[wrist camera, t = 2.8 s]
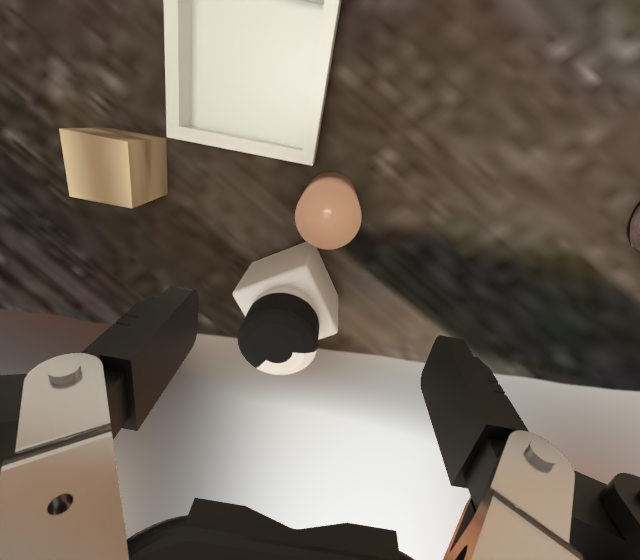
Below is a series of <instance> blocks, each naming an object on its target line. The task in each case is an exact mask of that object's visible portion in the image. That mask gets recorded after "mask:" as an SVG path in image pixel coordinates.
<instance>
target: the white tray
mask: <svg viewBox="0 0 640 560" xmlns="http://www.w3.org/2000/svg"><path fill="white" fill-rule="evenodd" d="M341 1H342V0H164V40H165V85H166V129H167V137H169V138H174V139H179V140H184V141H189V142H194V143H199V144H204V145H209V146H214V147H219V148H224V149H229V150H235V151H240V152H245V153H250V154H255V155H260V156H265V157H270V158H275V159H280V160H285V161H290V162H295V163H301V164H306V165H311V166H313V164H314V163H315V159H316V152H317V146H318V140H319V134H320V128H321V122H322V116H323V110H324V104H325V98H326V92H327V86H328V80H329V74H330V67H331V61H332V55H333V49H334V43H335V37H336V31H337V25H338V19H339V13H340V7H341Z"/></svg>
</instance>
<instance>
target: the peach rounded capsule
mask: <svg viewBox="0 0 640 560" xmlns="http://www.w3.org/2000/svg"><path fill="white" fill-rule="evenodd" d="M295 222H296V226H297V229H298V231H299V233H300V235H301V236H302V237H303V239H304V240H305V241H307V242H308V243H309V244H311V245H313V246H314V247H317V248H320V249H336V248H340V247H342V246H344V245H346V244H347V243H349V242H350V241H351V240H352V239H353V238H354V237H355V235H356V234H357V232H358V230H359V228H360V225H361V209H360V205H359V201H358V197H357V193H356V190H355V187H354V185H353V183H352V182H351V181H350V180H349V179H348V178H347V177H346V176H344V175H343V174H340V173H337V172H324V173H321V174H318V175H317V176H315V177H314V178H313V179H312V180H311V181H310V182H309V183H308V185H307V187H306V189H305V191H304V193H303V194H302V196H301V198H300V200H299V202H298V204H297V207H296V211H295Z"/></svg>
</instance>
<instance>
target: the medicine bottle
mask: <svg viewBox="0 0 640 560" xmlns="http://www.w3.org/2000/svg"><path fill="white" fill-rule="evenodd" d="M233 297H234V299H235V300H236V302H237V304H238V305H239V307H240V309H241V310H242V312H243V314H244V315H245V319H244V321H243V323H242V325H241V327H240V329H239V333H238V344H239V348H240V350H241V353H242V354H243V356H244V357H245V358H246V360H247V361H248V362H249V363H250V364H251V365H253V366H254V367H255V368H257V369H259V370H261V371H263V372H265V373H269V374H274V375H287V374H292V373H296V372H298V371H300V370H302V369H304V368H305V367H307V366H308V365H309V364H310V363H311V362H312V360H313V359H314V357H315V355H316V352H317V347H318V340H319V339H322V338H325V337H328V336H332V335H335V334H337V332H338V294H337V292H336V290H335V288H334V285H333V283H332V281H331V279H330V276H329V274H328V272H327V270H326V267H325V265H324V263H323V261H322V258H321V256H320V254H319V252H318V249H317V247H314V246H313V245H311V244H309V243H308V242H307V241H306V242H303V243H301V244H298V245H296V246H293V247H291V248H288V249H285V250H283V251H280V252H278V253H275V254H272V255H270V256H267V257H265V258H262V259H260V260H257V261H254V262H252V263H251V265H250V266H249V268H248V269H247V271H246V273H245V274H244V276H243V277H242V279H241V280H240V282H239V284H238V285H237V287H236V288H235V290H234V291H233Z"/></svg>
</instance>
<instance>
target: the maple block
mask: <svg viewBox="0 0 640 560" xmlns="http://www.w3.org/2000/svg"><path fill="white" fill-rule="evenodd" d="M59 131H60V137H61V144H62V150H63V157H64V163H65V170H66V176H67V183H68V189H69V196H70V197H75V198H80V199H85V200H90V201H96V202H101V203H106V204H112V205H117V206H122V207H127V208H135V207H137V206H140V205H142V204H145V203H147V202H150V201H152V200H155V199H157V198H159V197H162V196H164V195H167V194H168V189H167V145H166V139H165V138H160V137H155V136H150V135H145V134H140V133H135V132H130V131H125V130H120V129H115V128H59Z"/></svg>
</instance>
